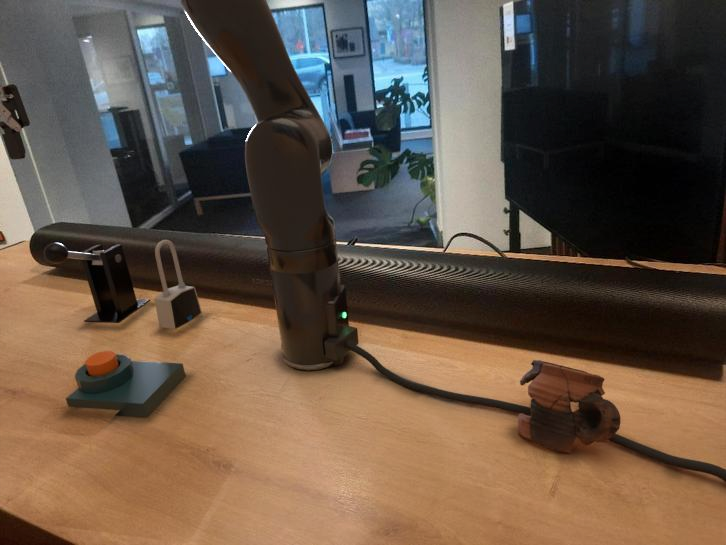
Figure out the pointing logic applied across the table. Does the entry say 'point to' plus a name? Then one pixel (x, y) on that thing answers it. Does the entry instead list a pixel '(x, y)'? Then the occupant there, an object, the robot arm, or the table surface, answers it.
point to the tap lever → (69, 254)
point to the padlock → (175, 296)
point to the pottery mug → (566, 407)
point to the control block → (127, 387)
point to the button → (101, 363)
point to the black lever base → (111, 286)
